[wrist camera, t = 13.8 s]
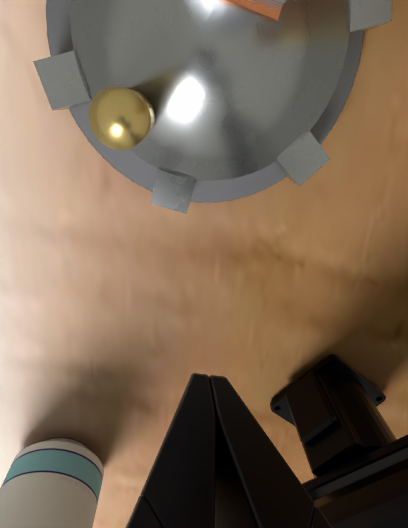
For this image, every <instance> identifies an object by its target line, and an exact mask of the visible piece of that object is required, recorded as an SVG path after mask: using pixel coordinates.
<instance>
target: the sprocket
mask: <svg viewBox="0 0 408 528" xmlns="http://www.w3.org/2000/svg"><path fill="white" fill-rule="evenodd" d="M390 21H392V0H287V1H286V2H285V3H284V4H283V5H282V6H280V7H279V8H278V9H277V10H276V11H275V10H272V9H269V8H267V7H264V6H261V5H259V4H256V3H254V2H251V1H248V0H71V1H70V23H71V36H72V42H73V48H74V51H70V52H67V53H63V54H59V55H55V56H52V57H48V58H44V59H41V60H37V61H33V62H34V65H35V67H36V70H37V72H38V75H39V77H40V80H41V82H42V85H43V88H44V90H45V93H46V95H47V98H48V100H49V103H50V105H51V108H52V110H62V109H70V108H73V107H77V106H81V105H85V104H89V103H91V104H90V107H89V113H88V117H89V124H90V127H91V129H92V131H93V133H94V135H95V136H96V138H97V139H98V140H99V141H100V142H101V143H103V144H104V145H106V146H107V147H109V148H112V149H116V150H127V149H129V150H130V151H131V152H133V153H134V154H135V155H137V156H138V157H140V158H141V159H142V160H144V161H145V162H147V163H148V164H150V165H152V166H154V167H156V168H158V172H157V177H156V181H155V185H154V189H153V193H152V197H151V201H150V204H154V205H157V206H161V207H165V208H168V209H172V210H176V211H179V212H183V213H186V214H187V210H188V207H189V203H190V200H191V196H192V193H193V190H194V186H195V183H196V180H204V181H216V180H227V179H233V178H238V177H241V176H245V175H248V174H251V173H254V172H256V171H258V170H260V169H263V168H265V167H267V166H269V165H270V164H272V163H273V162H275V163H276V164H277V165H278V166H279V168H280V169H281V170H282V171H283V173H284V174H285V175H286V176H287V177H288V178H289V179H290V180H292V181H293V182H294V183H296V184H297V185H298V186H300V185H301V184H303V183H304V182H305V181H306V180H307V179H308V178H309V177H311V176H312V175H313V174H314V173H315V172H316V171H318V170H319V169H320V168H321V167H322V166H323V165H324V164H326V163H327V162H328V161H329V160H330V158H329V156H328V155H327V154H326V152H325V151H324V150H323V148H322V147H321V146H320V144H319V143H318V142H317V140H316V139H315V137H314V136H313V135H312V133H311V132H310V130H311V129H312V127H313V126H314V125H315V123H316V122H317V121H318V119H319V118H320V116H321V115H322V113H323V111H324V110H325V108H326V106H327V105H328V103H329V101H330V99H331V97H332V94H333V92H334V90H335V88H336V86H337V83H338V80H339V77H340V74H341V72H342V69H343V65H344V61H345V56H346V52H347V48H348V41H349V35H352V34H356V33H359V32H363V31H367V30H370V29H372V28H375V27H377V26H380V25H383V24H385V23H388V22H390Z"/></svg>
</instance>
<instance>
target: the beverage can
mask: <svg viewBox="0 0 408 528" xmlns="http://www.w3.org/2000/svg"><path fill="white" fill-rule="evenodd" d="M103 475H104V469H103V465H102V463H101V461H100V460H99V458H98V457H97V456H96V455H95V454H94V453H93V452H92V451H90V450H89V449H88V448H87V447H86V446H85V445H83V444H82V443H80V442H77V441H75V440H71V439H65V438H55V439H49V440H46V441H43V442H38V443H35V444H32V445H30V446H28V447H26V448H24V449H23V450H21V451H20V452H19V453H18V454H17V456H16V457H15V459H14V461H13V463H12V465H11V467H10V469H9V471H8V473H7V476H6V478H5V480H4V482H3V484H2V486H1V488H0V528H92V527H93V522H94V517H95V513H96V508H97V503H98V498H99V494H100V489H101V484H102V480H103Z"/></svg>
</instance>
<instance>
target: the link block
mask: <svg viewBox="0 0 408 528" xmlns="http://www.w3.org/2000/svg"><path fill="white" fill-rule="evenodd" d="M248 1H251V2H254V3H256V4H259V5H261V6H264V7H267V8H269V9H272V10H275V11H276V10H277V9H278V8H279V7H280V6H282V5H283V4H284V3H285V2H286V1H287V0H248Z"/></svg>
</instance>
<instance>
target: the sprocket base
mask: <svg viewBox="0 0 408 528" xmlns="http://www.w3.org/2000/svg"><path fill="white" fill-rule="evenodd" d="M70 1H71V0H47V2H46V19H47V36H48V42H49V48H50V55H51V57H52V56H55V55H59V54H63V53H67V52H70V51H74V48H73V42H72V36H71V23H70ZM363 33H364V31H363V32H359V33H356V34H352V35H349V41H348V48H347V52H346V56H345V61H344V65H343V69H342V72H341V74H340V77H339V80H338V83H337V86H336V88H335V90H334V92H333V94H332V97H331V99H330V101H329V103H328V105H327V106H326V108H325V110H324V111H323V113H322V115H321V116H320V118H319V119H318V121H317V122H316V123H315V125H314V126H313V127H312V129H311V130H310V132H311V133H312V135H313V136H314V137H315V139H316V140H317V142H318V143H319V144H321V143H322V142H323V140H324V139H325V137H326V136H327V135H328V133H329V132H330V130H331V129H332V127H333V126H334V124H335V122H336V121H337V119H338V117H339V115H340V113H341V111H342V109H343V107H344V105H345V103H346V100H347V98H348V96H349V93H350V91H351V88H352V86H353V82H354V79H355V75H356V72H357V68H358V65H359V60H360V54H361V48H362V43H363ZM90 104H91V103H89V104H85V105H81V106H77V107H73V108H70V109H69V110H70V112H71V114H72V116H73V118H74V119H75V121H76V123H77V125H78V126H79V128H80V129H81V131H82V132H83V134H84V135H85V136H86V138H87V139H88V141H89V142H90V143H91V144H92V146H93V147H94V148H95V149H96V150H97V151H98V152H99V154H100V155H101V156H102V157H103V158H104V159H105V160H106V161H107V162H108V163H110V164H111V165H112V166H113V167H114V168H115V169H116V170H117V171H119V172H120V173H122V174H123V175H124V176H126V177H127V178H129V179H130V180H131V181H133V182H135V183H137V184H139V185H140V186H142V187H144V188H146V189H148V190H150V191H153V189H154V185H155V181H156V177H157V172H158V168H156V167H154V166H152V165H150V164H148V163H147V162H145V161H144V160H142V159H141V158H140V157H138V156H137V155H135V154H134V153H133V152H131V151H130V150H129V149H127V150H116V149H112V148H109V147H107V146H106V145H104V144H103V143H101V142H100V141H99V140H98V139H97V138H96V136H95V135H94V133H93V131H92V129H91V127H90V124H89V117H88V113H89V107H90ZM285 177H286V175H285V174H284V173H283V171H282V170H281V169H280V168H279V166H278V165H277V164H276V163H275V162H273V163H272V164H270V165H269V166H267V167H265V168H263V169H260V170H258V171H256V172H254V173H251V174H248V175H245V176H241V177H238V178H233V179H227V180H216V181H204V180H196V183H195V186H194V190H193V193H192V196H191V200H190V202H198V203H210V202H223V201H230V200H235V199H239V198H242V197H246V196H250V195H252V194H255V193H257V192H259V191H262V190H264V189H266V188H268V187H270V186H272V185H273V184H275V183H277V182H279V181H281V180H282V179H283V178H285Z"/></svg>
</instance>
